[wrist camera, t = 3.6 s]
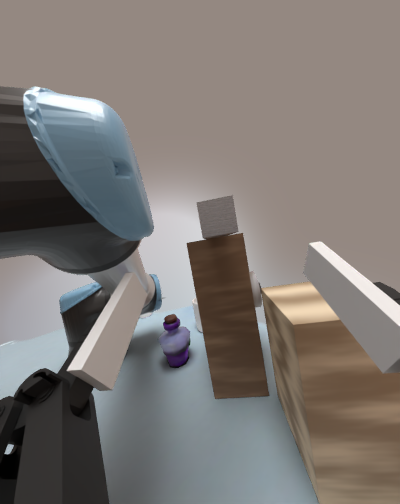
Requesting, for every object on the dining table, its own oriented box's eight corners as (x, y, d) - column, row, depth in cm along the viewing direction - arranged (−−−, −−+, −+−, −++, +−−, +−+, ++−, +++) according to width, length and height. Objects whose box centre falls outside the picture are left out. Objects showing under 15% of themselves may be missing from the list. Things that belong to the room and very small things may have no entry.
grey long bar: (243, 230, 15) (235, 184, 15) (198, 238, 16) (190, 194, 15) (223, 237, 41) (220, 220, 41) (206, 240, 42) (203, 223, 41)
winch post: (215, 348, 44) (196, 242, 42) (264, 344, 42) (246, 233, 41) (214, 398, 30) (186, 243, 28) (287, 394, 28) (261, 229, 27)
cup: (204, 319, 62) (200, 294, 61) (233, 323, 55) (229, 295, 55) (192, 331, 55) (187, 303, 54) (224, 337, 48) (219, 305, 48)
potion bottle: (201, 354, 43) (193, 311, 42) (177, 379, 36) (167, 328, 35) (179, 345, 48) (172, 307, 48) (155, 365, 42) (146, 321, 41)
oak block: (277, 395, 29) (260, 288, 28) (331, 392, 27) (316, 280, 26) (320, 505, 17) (293, 324, 16) (418, 508, 16) (396, 314, 15)
